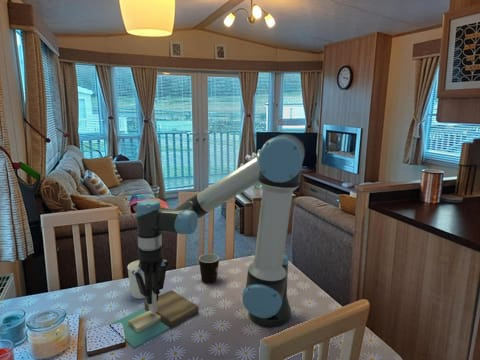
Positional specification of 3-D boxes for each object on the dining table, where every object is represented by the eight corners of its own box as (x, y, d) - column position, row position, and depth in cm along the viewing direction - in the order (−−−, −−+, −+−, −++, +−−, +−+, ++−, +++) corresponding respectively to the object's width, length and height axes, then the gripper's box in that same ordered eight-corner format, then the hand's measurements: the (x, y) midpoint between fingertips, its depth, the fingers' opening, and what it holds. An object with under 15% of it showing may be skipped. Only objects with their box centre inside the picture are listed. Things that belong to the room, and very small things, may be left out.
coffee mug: (209, 287, 138) (209, 264, 136) (194, 280, 143) (194, 258, 141) (227, 276, 147) (227, 255, 145) (213, 270, 152) (212, 249, 150)
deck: (198, 312, 121) (198, 306, 120) (170, 327, 112) (170, 321, 112) (171, 295, 132) (171, 289, 131) (144, 308, 123) (144, 302, 123)
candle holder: (141, 302, 127) (139, 273, 124) (123, 295, 132) (121, 266, 129) (160, 291, 135) (159, 263, 132) (143, 284, 140) (141, 257, 137)
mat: (169, 328, 112) (169, 327, 112) (134, 348, 103) (134, 347, 103) (143, 309, 123) (143, 308, 123) (109, 325, 113) (109, 324, 113)
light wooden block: (161, 320, 116) (161, 316, 115) (137, 332, 109) (137, 328, 109) (151, 313, 120) (151, 309, 119) (128, 324, 113) (128, 320, 113)
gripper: (160, 238, 118) (162, 298, 123) (126, 249, 109) (130, 314, 114) (173, 244, 113) (175, 307, 118) (138, 256, 104) (141, 323, 109)
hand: (153, 310), depth 116 cm, fingers closed
